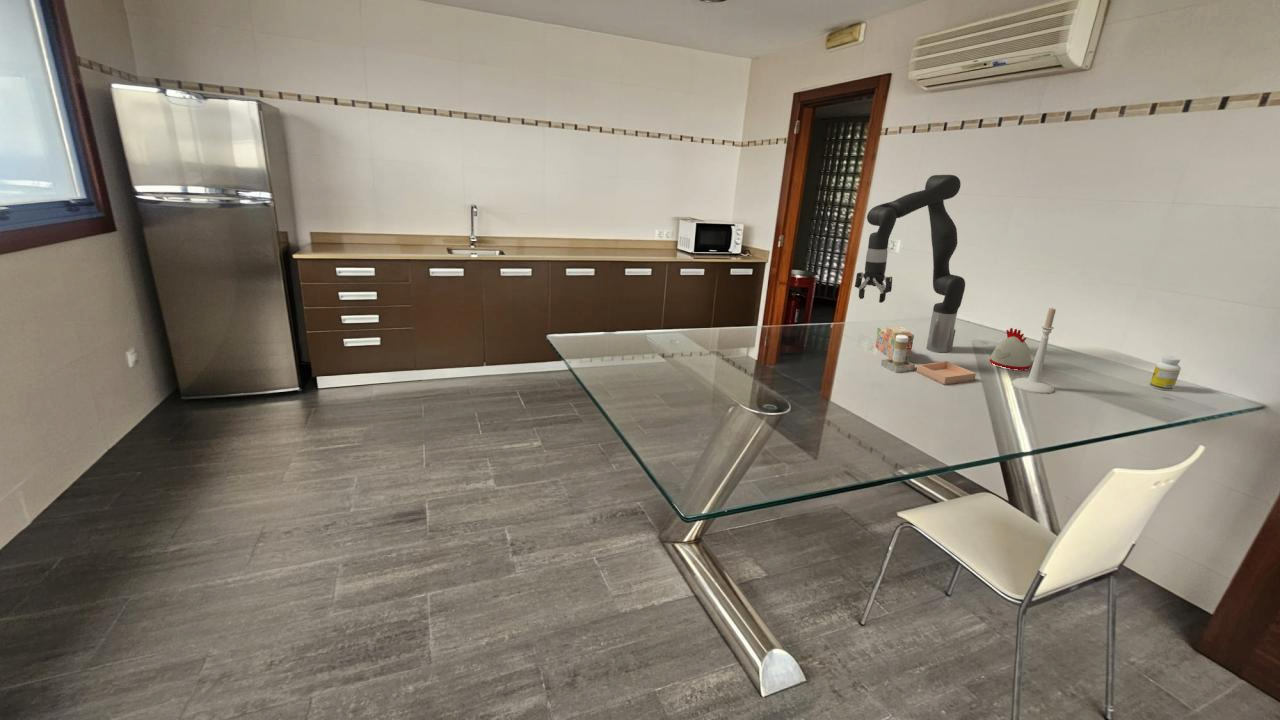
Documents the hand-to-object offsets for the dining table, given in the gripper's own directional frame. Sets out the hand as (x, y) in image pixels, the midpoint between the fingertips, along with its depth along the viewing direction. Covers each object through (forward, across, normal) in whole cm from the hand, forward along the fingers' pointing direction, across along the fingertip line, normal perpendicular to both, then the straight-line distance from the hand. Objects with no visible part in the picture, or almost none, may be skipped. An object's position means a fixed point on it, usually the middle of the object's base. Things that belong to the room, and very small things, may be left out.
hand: (871, 300), depth 214 cm
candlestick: (+27, -53, -24) cm, 64 cm away
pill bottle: (+28, -82, -59) cm, 104 cm away
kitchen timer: (+27, -38, -43) cm, 64 cm away
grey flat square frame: (+26, -12, -4) cm, 29 cm away
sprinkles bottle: (+27, -12, -4) cm, 30 cm away
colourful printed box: (+27, -2, -18) cm, 32 cm away
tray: (+26, -28, -10) cm, 40 cm away
